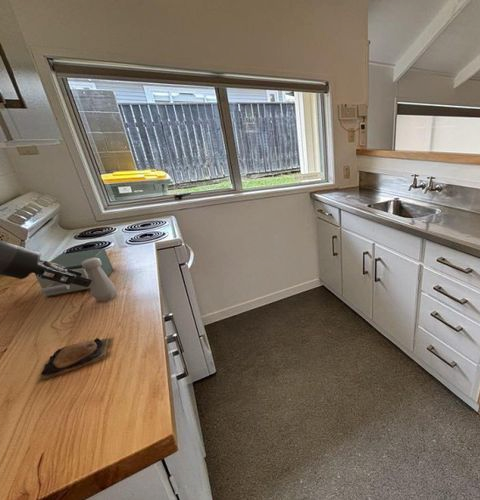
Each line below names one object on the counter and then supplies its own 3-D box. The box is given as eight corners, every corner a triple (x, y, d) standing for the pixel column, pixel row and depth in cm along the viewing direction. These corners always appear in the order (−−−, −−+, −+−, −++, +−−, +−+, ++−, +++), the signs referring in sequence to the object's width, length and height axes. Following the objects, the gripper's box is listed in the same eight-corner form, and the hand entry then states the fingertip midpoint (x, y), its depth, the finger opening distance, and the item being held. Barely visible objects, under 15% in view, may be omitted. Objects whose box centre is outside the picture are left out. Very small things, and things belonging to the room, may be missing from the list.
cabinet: (96, 288, 92) (85, 264, 89) (47, 297, 88) (33, 272, 85) (113, 269, 105) (104, 248, 102) (71, 276, 101) (60, 254, 98)
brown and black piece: (110, 339, 69) (104, 326, 67) (105, 360, 62) (98, 347, 61) (51, 357, 64) (44, 344, 62) (39, 382, 57) (30, 368, 56)
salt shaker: (90, 301, 85) (71, 262, 80) (110, 291, 90) (93, 254, 85) (103, 304, 83) (85, 264, 78) (122, 294, 88) (107, 256, 83)
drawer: (83, 296, 86) (74, 277, 83) (34, 306, 82) (23, 285, 80) (108, 270, 103) (100, 253, 100) (68, 276, 99) (59, 259, 96)
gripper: (22, 250, 66) (101, 273, 79) (10, 240, 73) (84, 262, 86) (0, 280, 64) (85, 298, 77) (-10, 266, 71) (69, 285, 84)
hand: (84, 279), depth 82 cm, fingers open, 8 cm apart
